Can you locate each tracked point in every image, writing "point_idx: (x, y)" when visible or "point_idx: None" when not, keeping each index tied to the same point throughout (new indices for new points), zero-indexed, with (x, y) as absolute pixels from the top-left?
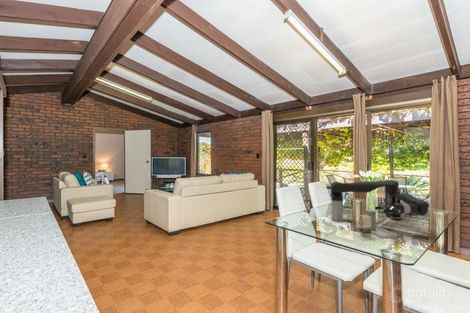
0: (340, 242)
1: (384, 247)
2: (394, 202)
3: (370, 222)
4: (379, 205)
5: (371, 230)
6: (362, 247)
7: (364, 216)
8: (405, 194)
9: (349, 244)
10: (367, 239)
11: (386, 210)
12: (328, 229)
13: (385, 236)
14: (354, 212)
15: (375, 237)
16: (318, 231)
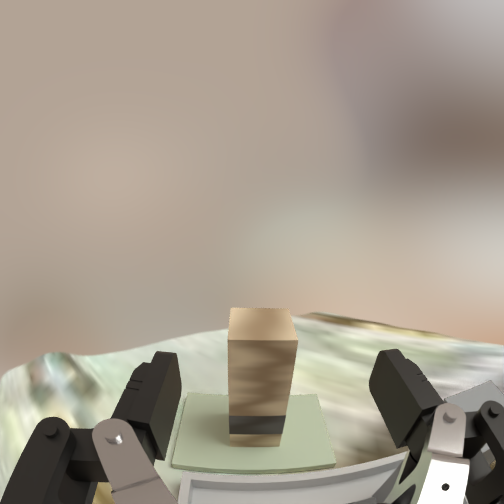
0: (218, 333)
1: (101, 413)
2: None
3: (228, 377)
4: (489, 407)
5: (311, 477)
6: (146, 357)
7: (243, 312)
8: None
9: (190, 343)
10: (199, 408)
11: (134, 374)
12: (380, 349)
13: (180, 498)
14: None
15: (216, 462)
16: (346, 323)
